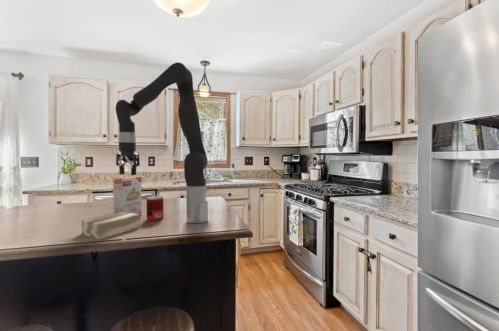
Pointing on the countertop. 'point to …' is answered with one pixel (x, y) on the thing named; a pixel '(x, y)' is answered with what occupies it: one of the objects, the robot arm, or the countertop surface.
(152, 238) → the countertop surface
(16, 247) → the countertop surface
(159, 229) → the countertop surface
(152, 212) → the canned food
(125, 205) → the cracker box
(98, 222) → the folded beige towel
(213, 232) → the countertop surface
